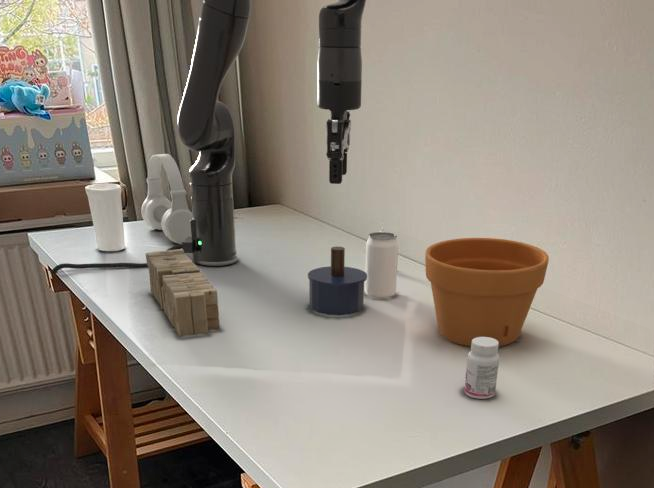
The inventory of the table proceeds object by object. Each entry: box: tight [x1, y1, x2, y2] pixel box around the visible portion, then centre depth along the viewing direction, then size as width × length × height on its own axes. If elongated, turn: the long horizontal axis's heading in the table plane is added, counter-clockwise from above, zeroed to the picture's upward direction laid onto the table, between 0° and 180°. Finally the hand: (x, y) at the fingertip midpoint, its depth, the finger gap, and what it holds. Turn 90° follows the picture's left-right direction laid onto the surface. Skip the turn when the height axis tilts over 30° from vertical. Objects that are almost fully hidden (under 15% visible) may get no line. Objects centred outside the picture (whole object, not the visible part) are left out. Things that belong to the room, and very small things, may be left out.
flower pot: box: [424, 237, 550, 348], centre depth 138 cm, size 21×21×15 cm
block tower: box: [145, 248, 220, 337], centre depth 147 cm, size 8×8×29 cm
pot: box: [308, 279, 365, 316], centre depth 150 cm, size 10×10×6 cm
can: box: [364, 231, 399, 298], centre depth 157 cm, size 6×6×12 cm
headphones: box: [140, 153, 193, 245], centre depth 193 cm, size 20×8×19 cm, turn 31°
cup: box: [84, 183, 126, 252], centre depth 182 cm, size 8×8×14 cm
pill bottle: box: [463, 337, 500, 400], centre depth 117 cm, size 5×5×8 cm
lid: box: [307, 245, 367, 286], centre depth 148 cm, size 11×11×6 cm
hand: (338, 178), depth 139 cm, fingers open, 8 cm apart
